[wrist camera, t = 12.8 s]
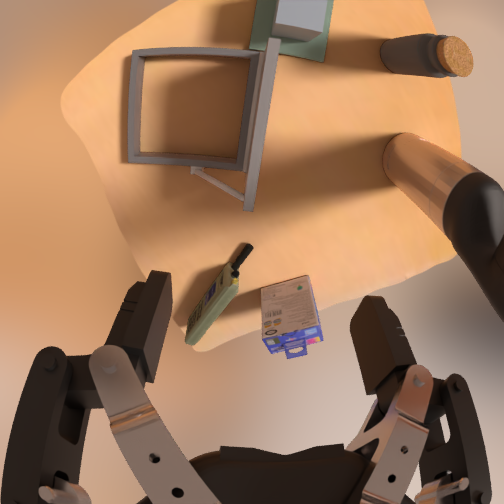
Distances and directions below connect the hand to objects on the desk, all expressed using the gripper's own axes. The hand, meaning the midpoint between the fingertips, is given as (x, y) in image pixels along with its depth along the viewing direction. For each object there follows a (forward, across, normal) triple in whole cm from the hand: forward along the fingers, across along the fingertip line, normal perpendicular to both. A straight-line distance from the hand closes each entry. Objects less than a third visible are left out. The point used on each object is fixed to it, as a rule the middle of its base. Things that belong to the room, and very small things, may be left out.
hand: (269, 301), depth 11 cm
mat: (+31, -2, -19) cm, 36 cm away
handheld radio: (+32, +3, +29) cm, 43 cm away
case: (+31, +10, -4) cm, 33 cm away
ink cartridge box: (+32, -10, +28) cm, 43 cm away
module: (+30, -2, -19) cm, 36 cm away
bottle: (+31, -18, -18) cm, 40 cm away
